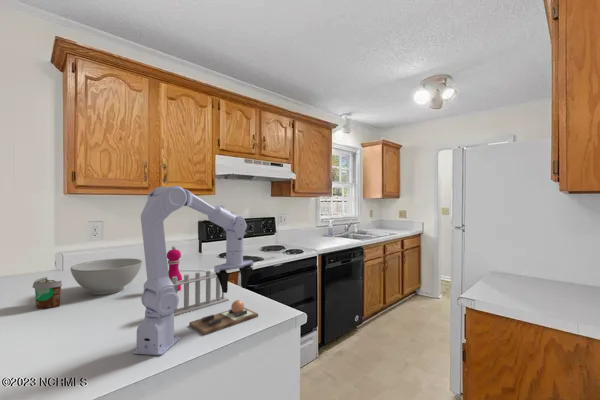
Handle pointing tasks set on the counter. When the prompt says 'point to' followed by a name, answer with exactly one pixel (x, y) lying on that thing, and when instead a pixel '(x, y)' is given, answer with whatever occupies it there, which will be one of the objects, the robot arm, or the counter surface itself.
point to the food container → (47, 293)
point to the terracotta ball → (237, 306)
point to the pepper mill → (174, 265)
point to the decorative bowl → (106, 274)
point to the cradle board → (221, 320)
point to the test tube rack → (198, 292)
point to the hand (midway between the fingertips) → (234, 289)
